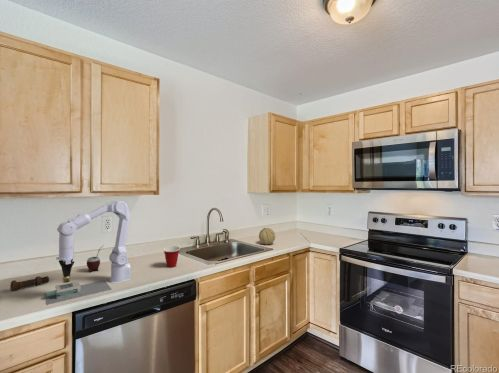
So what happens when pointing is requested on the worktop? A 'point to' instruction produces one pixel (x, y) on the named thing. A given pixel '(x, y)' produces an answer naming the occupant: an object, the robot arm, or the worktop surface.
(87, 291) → the mat
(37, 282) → the bolt
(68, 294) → the grey teal hollow block
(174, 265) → the plastic cup
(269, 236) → the cantaloupe
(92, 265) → the mate gourd
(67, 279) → the pin
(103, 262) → the worktop surface
